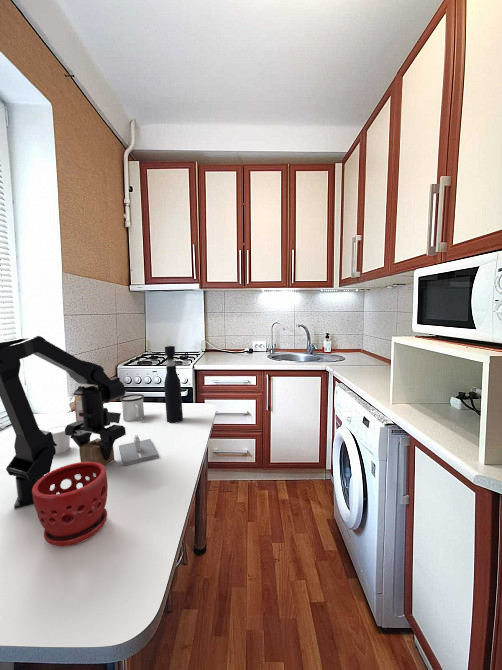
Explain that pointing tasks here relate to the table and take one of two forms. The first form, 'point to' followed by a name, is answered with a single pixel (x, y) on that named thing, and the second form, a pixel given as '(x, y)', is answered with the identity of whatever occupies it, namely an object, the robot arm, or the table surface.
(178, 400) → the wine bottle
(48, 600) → the table surface
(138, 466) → the table surface
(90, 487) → the plant pot
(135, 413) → the mug
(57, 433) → the white cylinder
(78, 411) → the small printed carton
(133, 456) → the switch plate
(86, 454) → the hollow wooden cube
